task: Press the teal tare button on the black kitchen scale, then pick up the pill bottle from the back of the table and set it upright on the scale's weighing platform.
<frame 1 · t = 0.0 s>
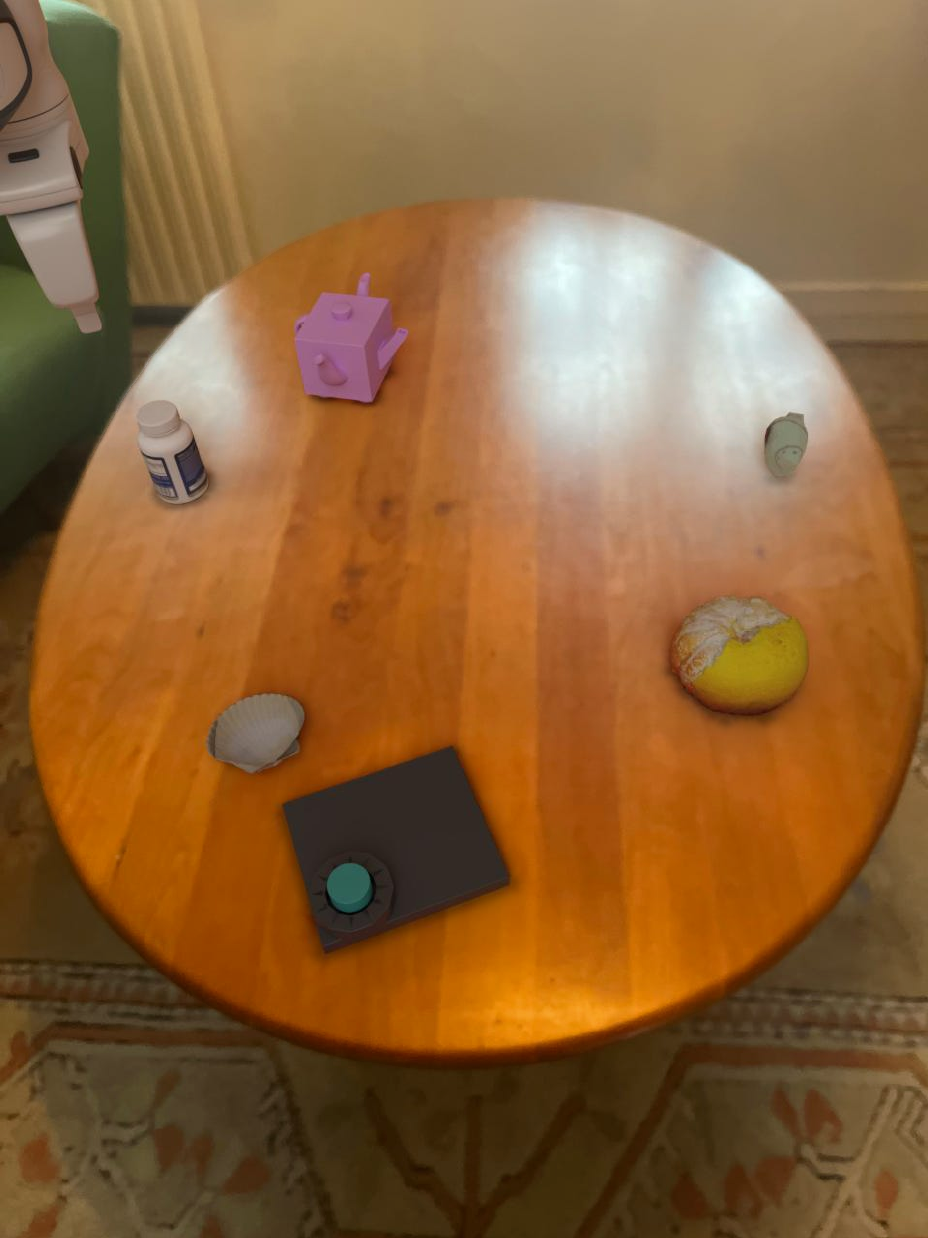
hand: (86, 300, 84), 21 cm above the table, tool pointing down, fingers open, 8 cm apart
fruit: (731, 671, 81), on the table
tare button: (349, 887, 66), point 3 cm above the table, slide at 0.1 cm
pill bottle: (184, 489, 99), on the table
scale: (393, 847, 72), on the table
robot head: (776, 474, 97), on the table
teapot: (358, 384, 110), on the table
seashell: (261, 744, 79), on the table
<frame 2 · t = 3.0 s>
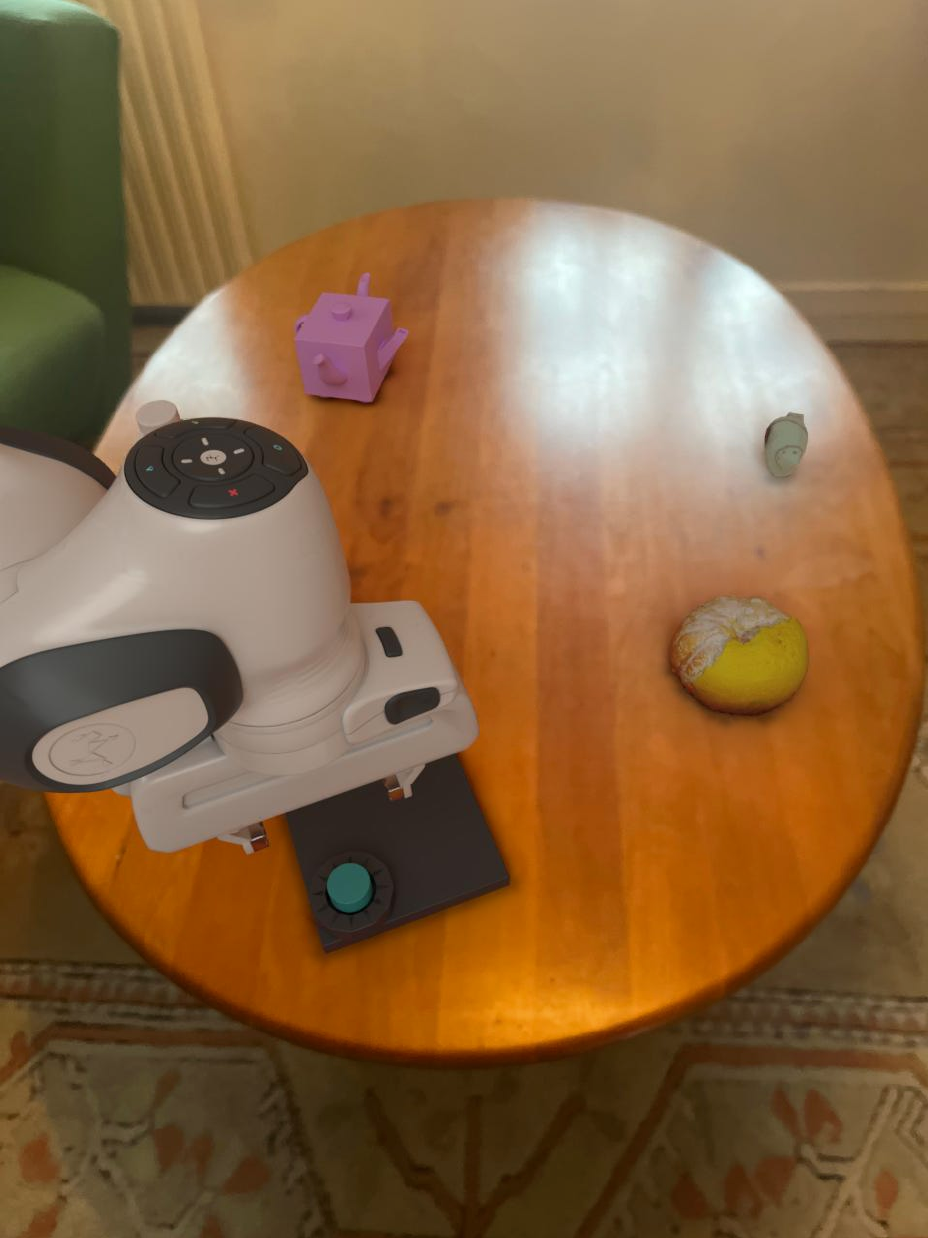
hand: (328, 815, 61), 12 cm above the table, tool pointing down, fingers open, 8 cm apart
nothing on the table moved.
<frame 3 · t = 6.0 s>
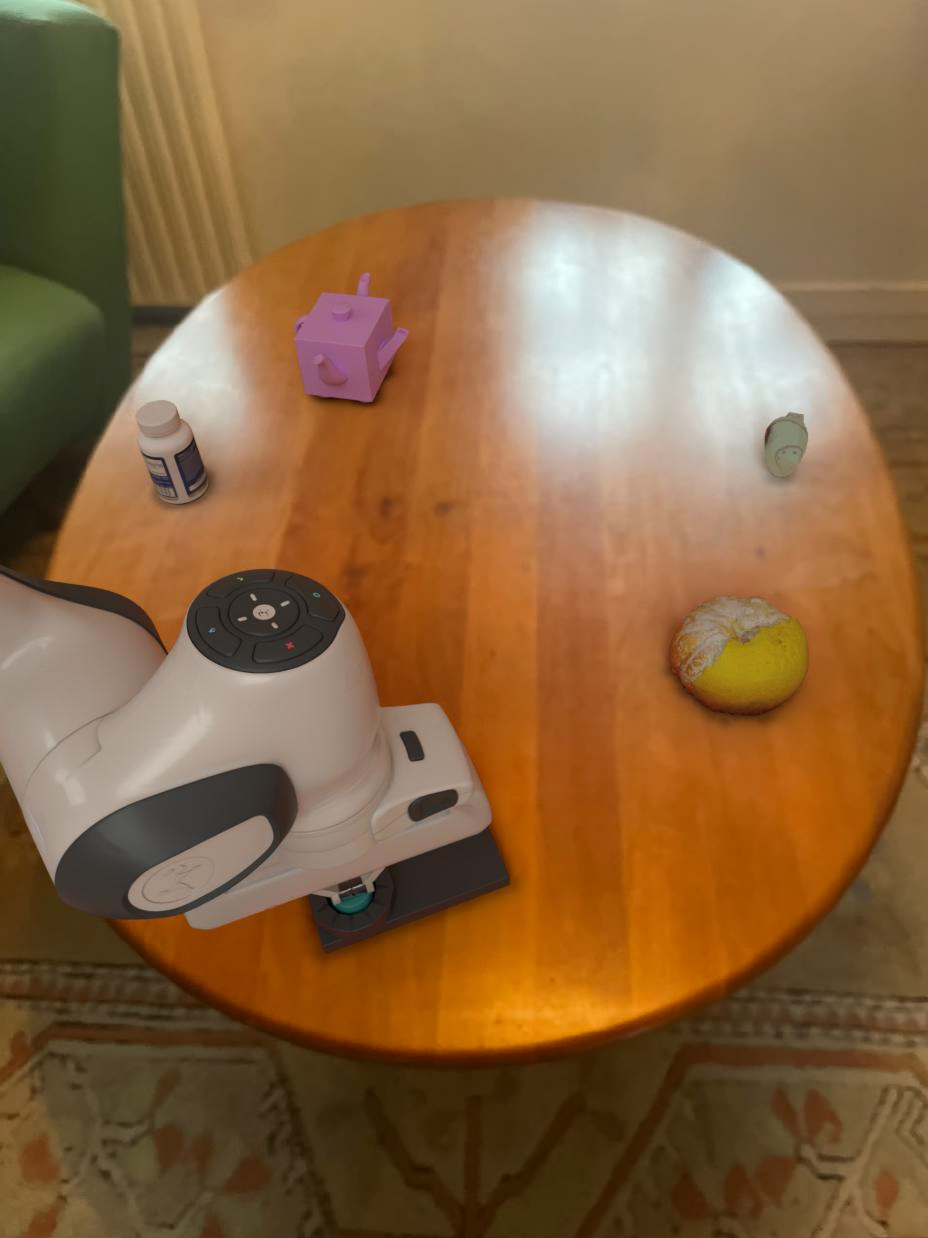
hand: (351, 889, 66), 4 cm above the table, tool pointing down, fingers closed, pressing on tare button
tare button: (351, 891, 67), point 3 cm above the table, slide at -0.5 cm, touching gripper
everything else where it was.
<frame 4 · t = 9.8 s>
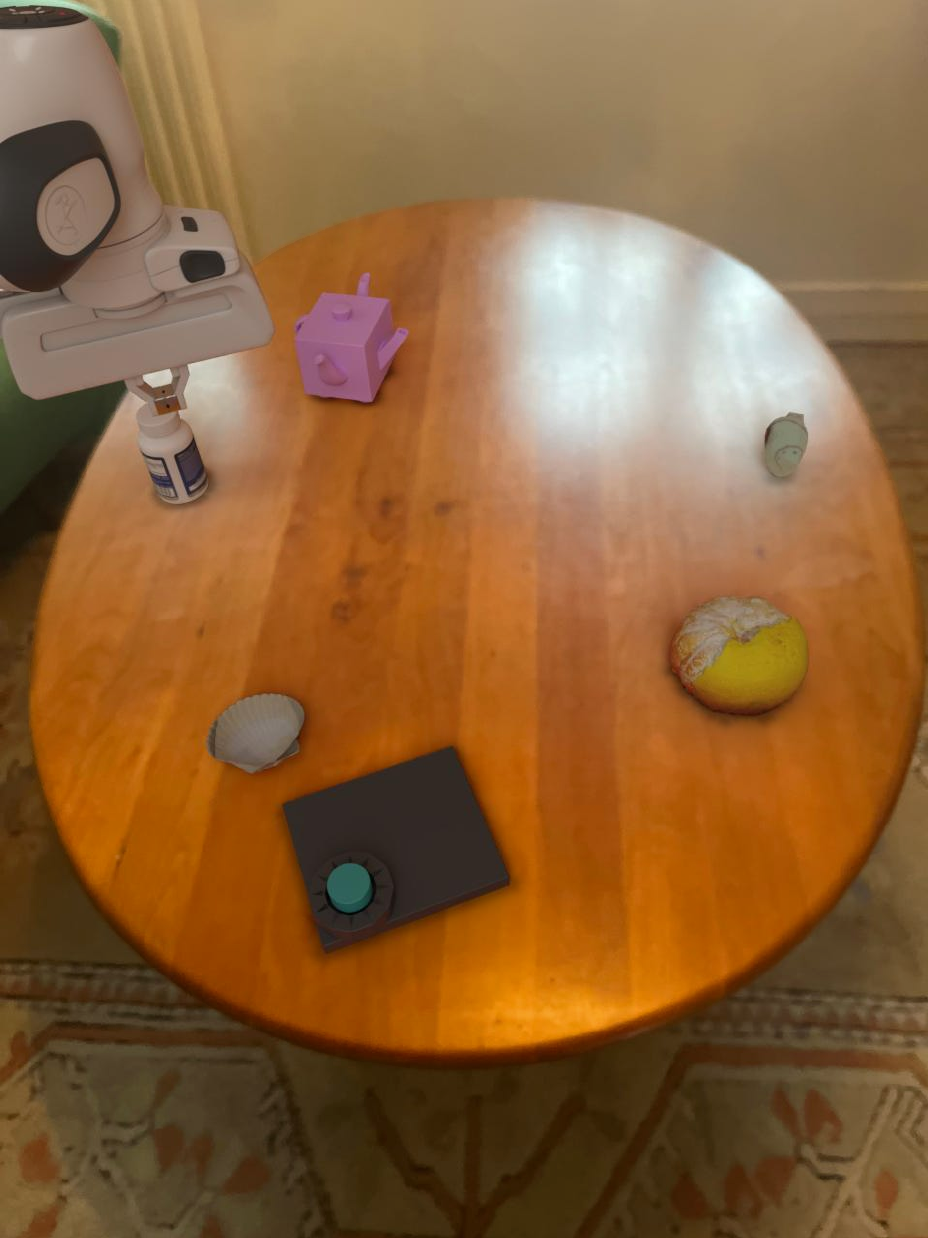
hand: (169, 408, 80), 17 cm above the table, tool pointing down, fingers closed
tare button: (350, 887, 66), point 3 cm above the table, slide at 0.1 cm
everything else where it was.
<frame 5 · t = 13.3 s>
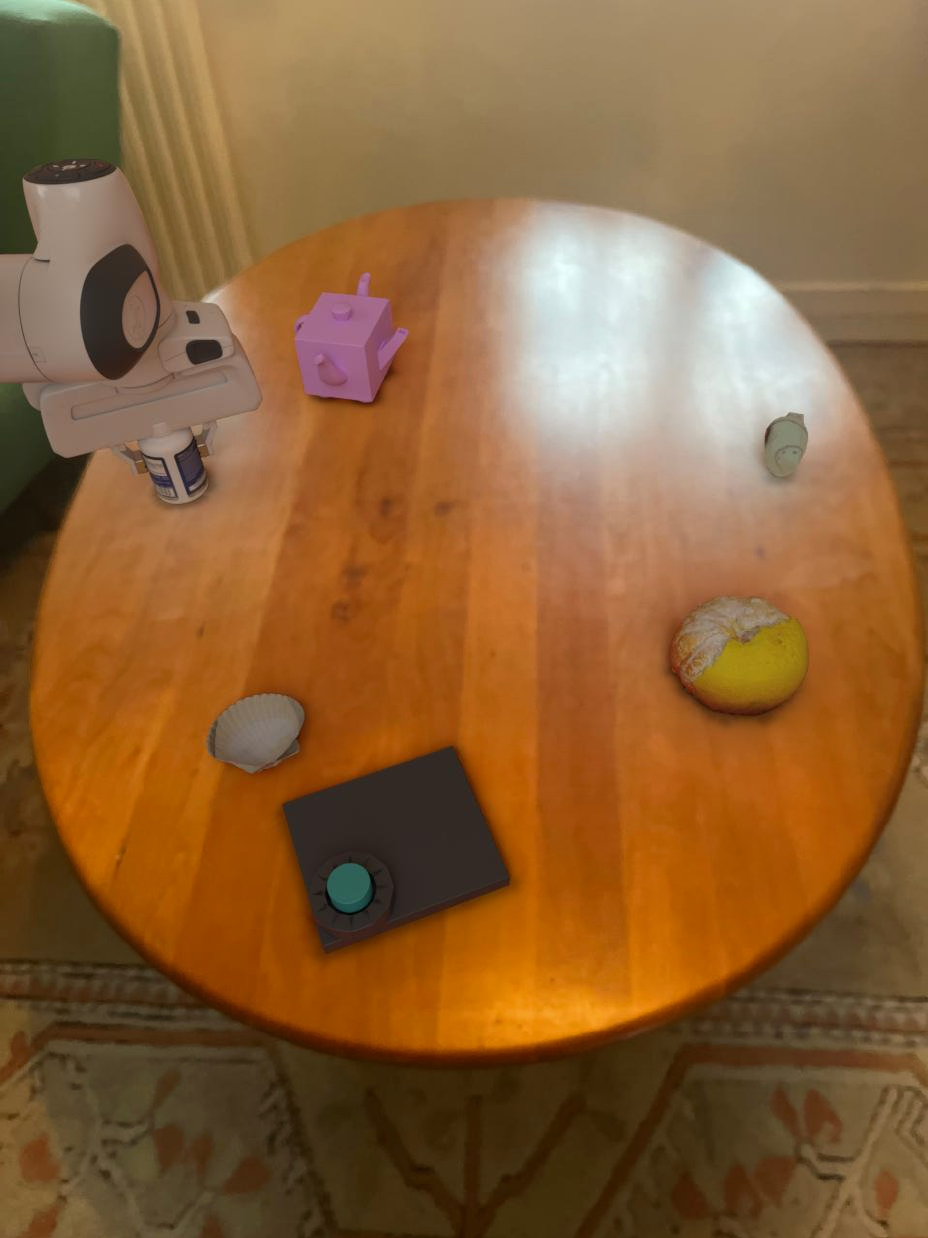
hand: (174, 461, 96), 4 cm above the table, tool pointing down, fingers closed on pill bottle, 5 cm apart
pill bottle: (184, 489, 99), on the table, touching gripper
everything else where it was.
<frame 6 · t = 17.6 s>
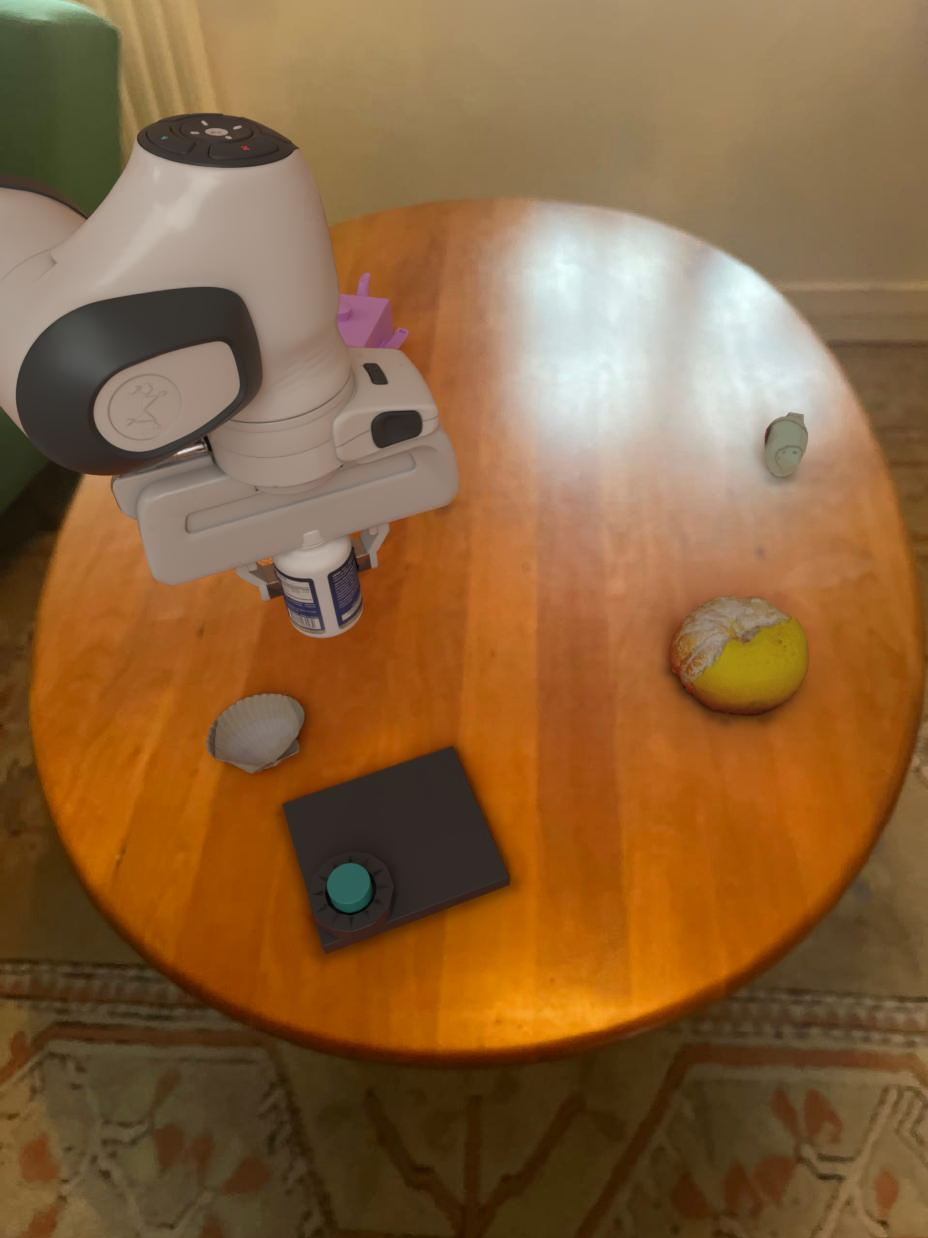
hand: (319, 577, 65), 18 cm above the table, tool pointing down, fingers closed on pill bottle, 5 cm apart
pill bottle: (327, 613, 68), point 14 cm above the table, touching gripper
everything else where it was.
when the fingers open (5 cm above the table, at t = 22.1 s): pill bottle stays where it is, resting on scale.
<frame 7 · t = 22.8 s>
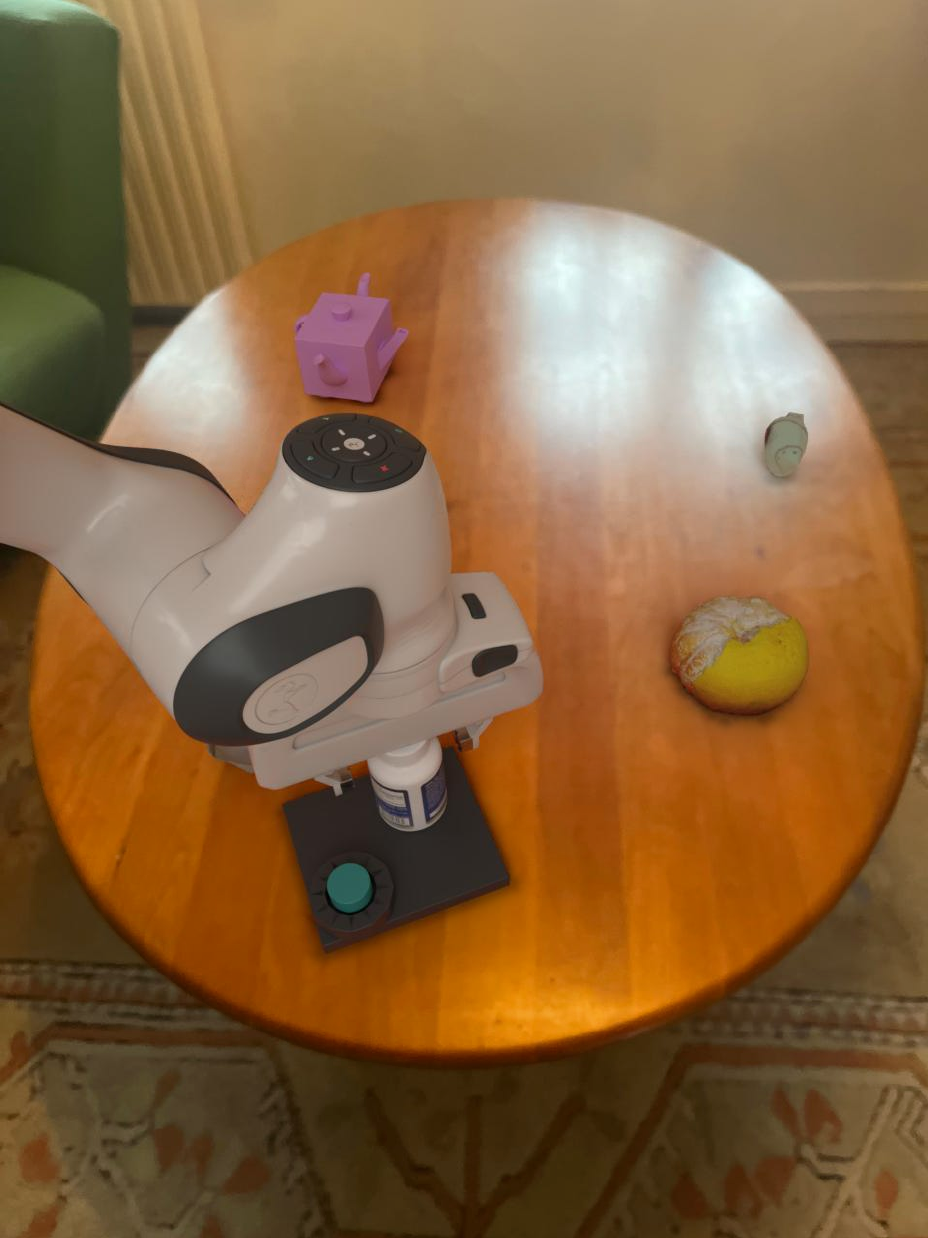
hand: (405, 763, 69), 7 cm above the table, tool pointing down, fingers open, 8 cm apart
pill bottle: (412, 802, 73), point 1 cm above the table, touching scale
everything else where it was.
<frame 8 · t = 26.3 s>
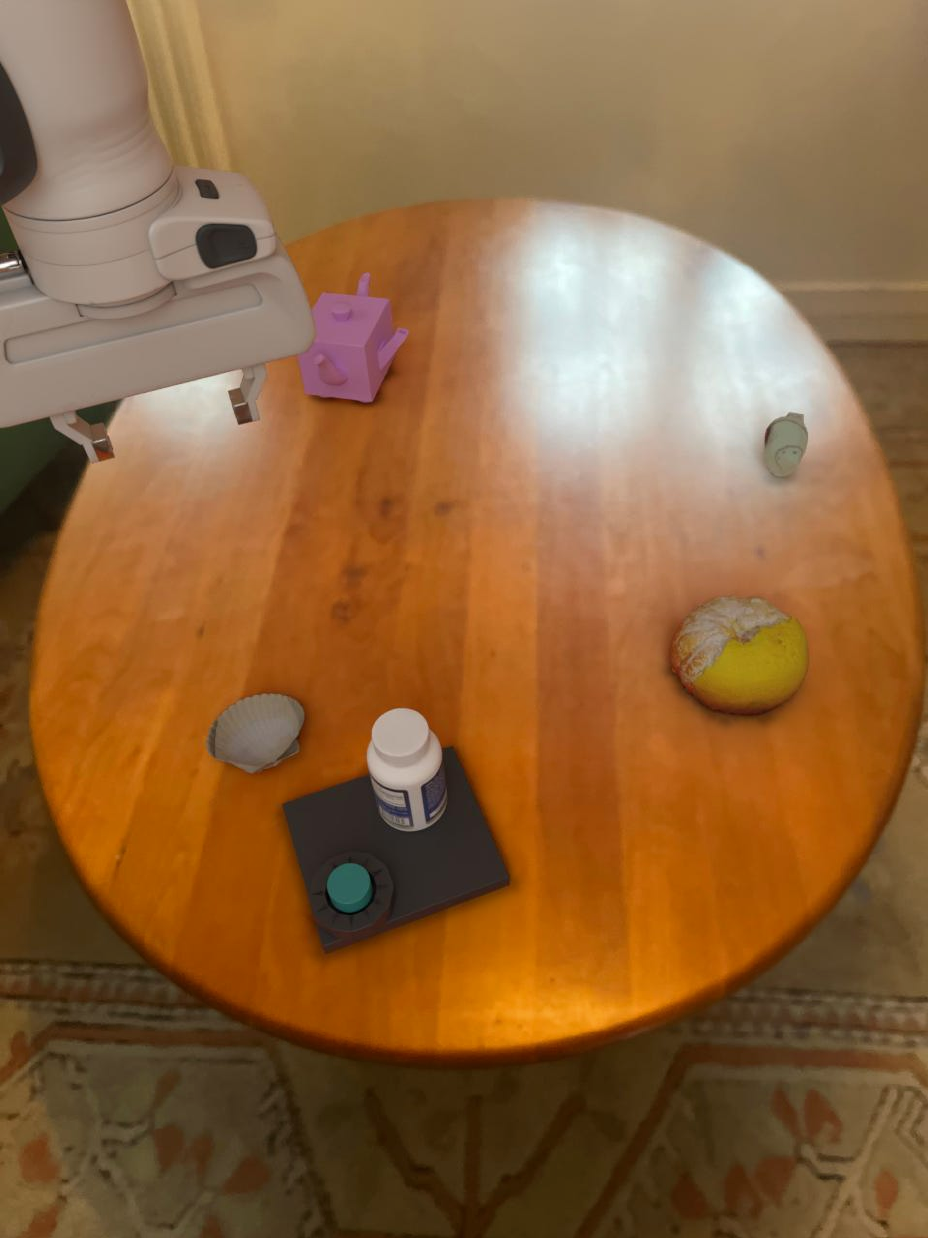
hand: (176, 436, 62), 27 cm above the table, tool pointing down, fingers open, 8 cm apart
nothing on the table moved.
at the end: tare button pushed in 0.9 cm at the most during the clip, back to where it started at the end; pill bottle inside the target area on the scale (3.4 cm from its centre), point 1.2 cm above the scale's base; pill bottle touching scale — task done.
